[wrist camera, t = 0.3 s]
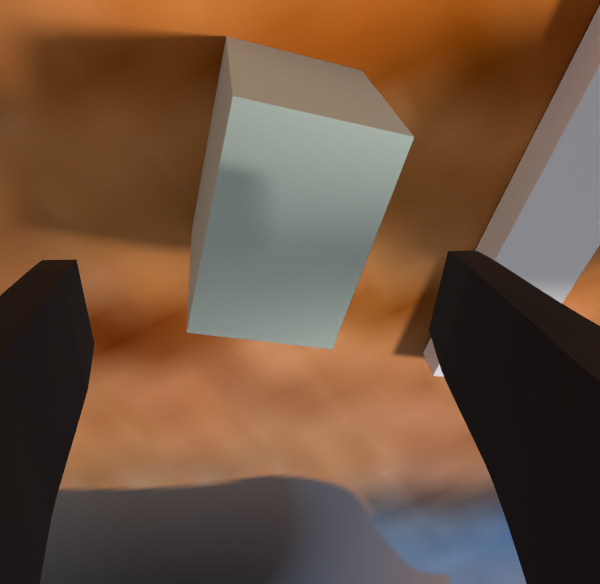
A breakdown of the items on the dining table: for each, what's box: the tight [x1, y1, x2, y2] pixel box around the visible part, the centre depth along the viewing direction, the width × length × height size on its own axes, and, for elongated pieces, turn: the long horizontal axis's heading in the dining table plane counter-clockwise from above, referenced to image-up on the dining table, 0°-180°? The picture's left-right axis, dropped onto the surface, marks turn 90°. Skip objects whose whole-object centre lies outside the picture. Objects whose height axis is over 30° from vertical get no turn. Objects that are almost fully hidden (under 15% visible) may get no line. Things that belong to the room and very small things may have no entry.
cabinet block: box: [187, 36, 414, 349], centre depth 18 cm, size 4×7×6 cm, turn 166°
